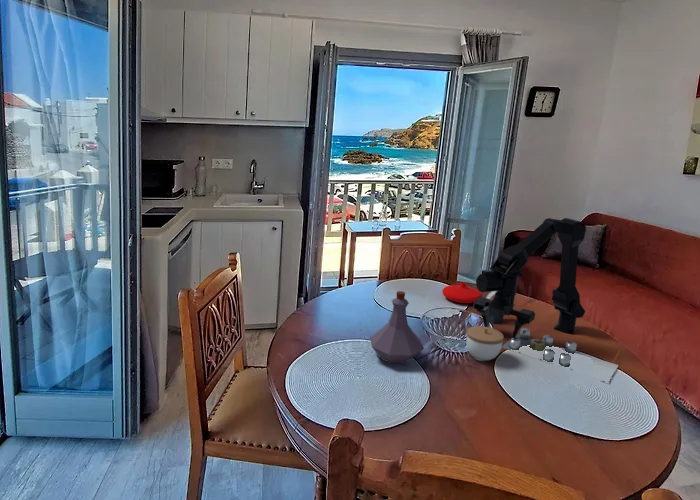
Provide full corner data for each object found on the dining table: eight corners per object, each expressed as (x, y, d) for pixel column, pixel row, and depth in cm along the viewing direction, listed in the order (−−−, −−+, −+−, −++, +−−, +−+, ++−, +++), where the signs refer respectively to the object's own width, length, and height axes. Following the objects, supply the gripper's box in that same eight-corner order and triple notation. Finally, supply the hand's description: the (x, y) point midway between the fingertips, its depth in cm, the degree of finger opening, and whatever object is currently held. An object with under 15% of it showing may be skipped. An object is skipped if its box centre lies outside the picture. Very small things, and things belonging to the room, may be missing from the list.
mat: (516, 335, 165) (516, 333, 165) (618, 366, 146) (618, 365, 146) (500, 348, 154) (501, 347, 154) (608, 383, 136) (608, 382, 136)
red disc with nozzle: (441, 304, 189) (443, 287, 188) (441, 291, 204) (442, 275, 203) (483, 309, 187) (485, 291, 185) (479, 295, 202) (481, 279, 200)
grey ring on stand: (506, 322, 175) (510, 293, 172) (488, 325, 172) (493, 295, 169) (496, 316, 180) (500, 288, 177) (478, 319, 177) (482, 290, 174)
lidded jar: (480, 368, 140) (484, 338, 138) (456, 352, 150) (460, 323, 147) (508, 361, 145) (512, 332, 143) (483, 346, 154) (487, 319, 152)
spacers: (521, 335, 164) (522, 327, 163) (579, 353, 153) (581, 344, 152) (505, 348, 153) (507, 339, 152) (567, 368, 142) (569, 359, 141)
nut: (532, 344, 157) (534, 337, 156) (546, 348, 155) (547, 341, 154) (527, 349, 153) (529, 341, 153) (541, 353, 151) (542, 346, 150)
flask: (427, 350, 150) (434, 288, 144) (416, 374, 134) (423, 306, 129) (376, 340, 155) (381, 280, 149) (360, 362, 139) (364, 296, 134)
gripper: (468, 287, 156) (463, 332, 160) (526, 303, 145) (519, 351, 149) (483, 280, 165) (477, 323, 169) (538, 294, 154) (531, 339, 158)
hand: (499, 334), depth 161 cm, fingers open, 9 cm apart
